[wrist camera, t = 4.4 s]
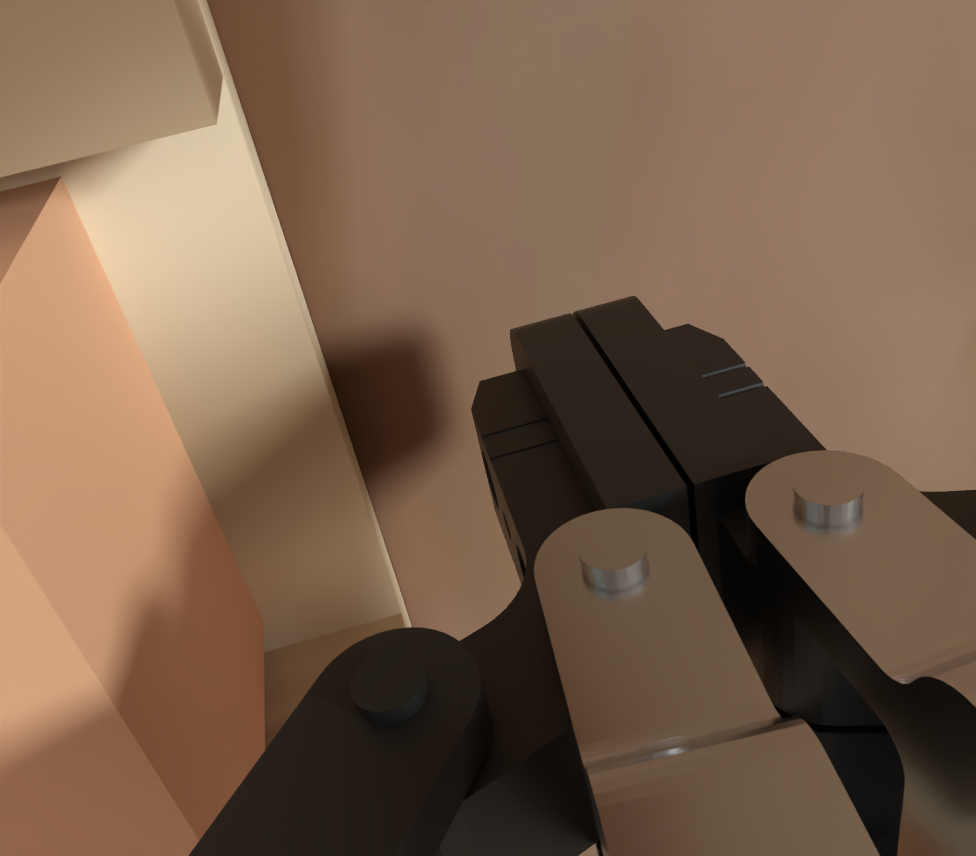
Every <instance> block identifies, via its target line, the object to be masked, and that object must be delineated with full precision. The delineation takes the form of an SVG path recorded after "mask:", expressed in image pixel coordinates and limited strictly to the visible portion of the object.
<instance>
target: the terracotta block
mask: <svg viewBox="0 0 976 856" xmlns="http://www.w3.org/2000/svg"><path fill="white" fill-rule="evenodd" d="M264 751H265V692H264V622H263V620H262V617H261V615H260V613H259V611H258V609H257V606H256V604H255V602H254V600H253V598H252V595H251V593H250V591H249V589H248V586H247V584H246V582H245V580H244V578H243V575H242V573H241V571H240V569H239V567H238V564H237V562H236V560H235V558H234V556H233V553H232V551H231V549H230V547H229V545H228V542H227V540H226V538H225V536H224V534H223V531H222V529H221V527H220V525H219V523H218V520H217V518H216V516H215V514H214V512H213V509H212V507H211V505H210V503H209V501H208V498H207V496H206V494H205V492H204V490H203V487H202V485H201V483H200V481H199V479H198V476H197V474H196V472H195V470H194V468H193V465H192V463H191V461H190V459H189V457H188V454H187V452H186V450H185V448H184V446H183V443H182V441H181V439H180V437H179V435H178V432H177V430H176V428H175V426H174V424H173V421H172V419H171V417H170V415H169V413H168V410H167V408H166V406H165V404H164V401H163V399H162V397H161V395H160V393H159V390H158V388H157V386H156V384H155V382H154V379H153V377H152V375H151V373H150V371H149V368H148V366H147V364H146V362H145V360H144V357H143V355H142V353H141V351H140V349H139V346H138V344H137V342H136V340H135V338H134V335H133V333H132V331H131V329H130V327H129V324H128V322H127V320H126V318H125V316H124V313H123V311H122V309H121V307H120V305H119V302H118V300H117V298H116V296H115V294H114V291H113V289H112V287H111V285H110V283H109V280H108V278H107V276H106V274H105V272H104V269H103V267H102V265H101V263H100V261H99V258H98V256H97V254H96V252H95V250H94V247H93V245H92V243H91V241H90V239H89V236H88V234H87V232H86V230H85V227H84V225H83V223H82V221H81V219H80V216H79V214H78V212H77V210H76V208H75V205H74V203H73V201H72V199H71V197H70V194H69V192H68V190H67V188H66V186H65V183H64V181H63V179H62V177H57V178H53V179H49V180H44V181H40V182H36V183H32V184H28V185H24V186H20V187H16V188H12V189H8V190H4V191H0V856H189V854H190V853H191V851H192V850H193V849H194V847H195V846H196V845H197V843H198V842H199V840H200V839H201V838H202V836H203V835H204V834H205V832H206V831H207V829H208V828H209V827H210V825H211V824H212V823H213V821H214V820H215V818H216V817H217V816H218V814H219V813H220V812H221V810H222V809H223V807H224V806H225V805H226V803H227V802H228V801H229V799H230V798H231V796H232V795H233V794H234V792H235V791H236V790H237V788H238V787H239V785H240V784H241V783H242V781H243V780H244V779H245V777H246V776H247V774H248V773H249V772H250V770H251V769H252V768H253V766H254V765H255V763H256V762H257V761H258V759H259V758H260V757H261V755H262V754H263V752H264Z"/></svg>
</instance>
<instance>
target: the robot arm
mask: <svg viewBox="0 0 976 856" xmlns="http://www.w3.org/2000/svg"><path fill="white" fill-rule="evenodd" d="M510 339H511V346H512V352H513V357H514V362H515V367H516V371H515V372H511V373H508V374H504V375H501V376H497V377H493V378H490V379H486V380H482V381H480V382H479V386H478V389H477V392H476V395H475V398H474V402H473V405H472V408H471V411H472V415H473V419H474V423H475V428H476V432H477V436H478V440H479V445H480V449H481V453H482V457H483V461H484V466H485V470H486V474H487V478H488V483H489V487H490V491H491V495H492V499H493V504H494V508H495V511H496V514H497V517H498V520H499V523H500V525H501V528H502V531H503V534H504V537H505V539H506V541H507V545H508V548H509V551H510V553H511V556H512V559H513V562H514V563H515V567H516V570H517V573H518V576H519V579H520V581H521V584H522V585H521V588H520V590H519V591H518V593H517V595H516V596H515V598H514V599H513V601H512V602H511V603H510V604H509V605H508V607H507V608H506V609H505V610H504V611H503V612H502V613H501V614H499V615H498V616H497V617H496V618H495V619H494V620H492V621H491V622H489V623H488V624H486V625H485V626H484V627H482V628H481V629H479V630H477V631H476V632H474V633H472V634H471V635H469V636H467V637H466V638H464V639H462V640H461V641H458V640H457V639H455V638H453V637H451V636H450V635H448V634H446V633H443V632H440V631H437V630H433V629H427V628H414V627H407V628H399V629H392V630H388V631H384V632H380V633H377V634H375V635H372V636H369V637H367V638H365V639H363V640H361V641H359V642H357V643H355V644H353V645H352V646H350V647H349V648H347V649H346V650H345V651H343V652H342V653H340V654H339V655H338V656H337V657H336V658H335V659H334V660H333V661H332V662H330V663H329V665H328V666H327V667H326V668H325V669H324V670H323V672H322V673H321V674H320V675H319V677H318V678H317V679H316V681H315V682H314V684H313V685H312V686H311V688H310V689H309V690H308V692H307V693H306V695H305V696H304V697H303V699H302V700H301V701H300V703H299V704H298V706H297V707H296V708H295V710H294V711H293V712H292V714H291V715H290V717H289V718H288V719H287V721H286V722H285V724H284V725H283V726H282V728H281V729H280V730H279V732H278V733H277V735H276V736H275V737H274V739H273V740H272V741H271V743H270V744H269V746H268V747H267V748H266V750H265V751H264V752H263V754H262V755H261V757H260V758H259V759H258V761H257V762H256V763H255V765H254V766H253V768H252V769H251V770H250V772H249V773H248V774H247V776H246V777H245V779H244V780H243V781H242V783H241V784H240V785H239V787H238V788H237V790H236V791H235V792H234V794H233V795H232V796H231V798H230V799H229V801H228V802H227V803H226V805H225V806H224V807H223V809H222V810H221V812H220V813H219V814H218V816H217V817H216V818H215V820H214V821H213V823H212V824H211V825H210V827H209V828H208V829H207V831H206V832H205V834H204V835H203V836H202V838H201V839H200V840H199V842H198V843H197V845H196V846H195V847H194V849H193V850H192V851H191V853H190V854H189V856H578V855H580V854H581V853H582V852H584V851H585V850H586V849H588V848H589V847H591V846H592V845H593V844H595V847H596V851H597V855H598V856H976V490H965V491H946V492H922V491H918V490H917V489H916V488H914V487H913V486H912V485H911V484H910V483H909V482H907V481H906V480H905V479H904V478H903V477H902V476H900V475H899V474H898V473H897V472H895V471H894V470H892V469H891V468H890V467H888V466H886V465H884V464H882V463H880V462H878V461H876V460H873V459H871V458H868V457H865V456H862V455H858V454H854V453H848V452H841V451H827V450H826V449H825V448H824V447H823V446H822V445H821V443H820V442H819V441H818V440H817V439H816V438H815V437H814V436H813V435H812V434H811V433H810V432H809V431H808V429H807V428H806V427H805V426H804V425H803V424H802V423H801V422H800V421H799V420H798V419H797V418H796V417H795V415H794V414H793V413H792V412H791V411H790V410H789V409H788V408H787V407H786V406H785V405H784V404H783V403H782V401H781V400H780V399H779V398H778V397H777V396H776V395H775V394H774V393H773V392H772V391H771V390H770V389H769V388H768V386H766V387H764V385H763V381H762V380H761V379H760V378H759V377H758V376H757V375H756V374H755V372H754V371H753V370H752V369H751V368H750V367H746V365H745V362H744V361H743V360H742V358H741V357H740V356H739V355H738V354H737V353H736V352H735V351H734V350H733V349H732V348H731V347H730V346H729V345H728V343H727V342H726V341H725V340H724V339H722V338H720V337H718V336H715V335H713V334H711V333H708V332H706V331H704V330H701V329H699V328H697V327H694V326H692V325H690V324H685V325H682V326H678V327H674V328H671V329H667V330H664V329H663V328H662V327H661V326H660V324H659V323H658V322H657V321H656V320H655V318H654V317H653V316H652V315H651V314H650V312H649V311H648V310H647V309H646V308H645V306H644V305H643V304H642V303H641V302H640V300H639V299H638V298H637V297H635V296H631V297H627V298H623V299H620V300H616V301H612V302H609V303H605V304H601V305H598V306H594V307H590V308H587V309H583V310H579V311H575V312H574V313H573V315H572V314H571V313H569V314H565V315H562V316H558V317H554V318H550V319H547V320H543V321H539V322H536V323H532V324H528V325H525V326H521V327H517V328H514V329H511V330H510Z"/></svg>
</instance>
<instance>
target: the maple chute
mask: <svg viewBox="0 0 976 856" xmlns="http://www.w3.org/2000/svg"><path fill="white" fill-rule="evenodd" d="M57 177H62V179H63V181H64V183H65V186H66V188H67V190H68V192H69V194H70V197H71V199H72V201H73V203H74V205H75V208H76V210H77V212H78V214H79V216H80V219H81V221H82V223H83V225H84V227H85V230H86V232H87V234H88V236H89V239H90V241H91V243H92V245H93V247H94V250H95V252H96V254H97V256H98V258H99V261H100V263H101V265H102V267H103V269H104V272H105V274H106V276H107V278H108V280H109V283H110V285H111V287H112V289H113V291H114V294H115V296H116V298H117V300H118V302H119V305H120V307H121V309H122V311H123V313H124V316H125V318H126V320H127V322H128V324H129V327H130V329H131V331H132V333H133V335H134V338H135V340H136V342H137V344H138V346H139V349H140V351H141V353H142V355H143V357H144V360H145V362H146V364H147V366H148V368H149V371H150V373H151V375H152V377H153V379H154V382H155V384H156V386H157V388H158V390H159V393H160V395H161V397H162V399H163V401H164V404H165V406H166V408H167V410H168V413H169V415H170V417H171V419H172V421H173V424H174V426H175V428H176V430H177V432H178V435H179V437H180V439H181V441H182V443H183V446H184V448H185V450H186V452H187V454H188V457H189V459H190V461H191V463H192V465H193V468H194V470H195V472H196V474H197V476H198V479H199V481H200V483H201V485H202V487H203V490H204V492H205V494H206V496H207V498H208V501H209V503H210V505H211V507H212V509H213V512H214V514H215V516H216V518H217V520H218V523H219V525H220V527H221V529H222V531H223V534H224V536H225V538H226V540H227V542H228V545H229V547H230V549H231V551H232V553H233V556H234V558H235V560H236V562H237V564H238V567H239V569H240V571H241V573H242V575H243V578H244V580H245V582H246V584H247V586H248V589H249V591H250V593H251V595H252V598H253V600H254V602H255V604H256V606H257V609H258V611H259V613H260V615H261V617H262V620H263V622H264V692H265V750H266V748H267V747H268V746H269V744H270V743H271V741H272V740H273V739H274V737H275V736H276V735H277V733H278V732H279V730H280V729H281V728H282V726H283V725H284V724H285V722H286V721H287V719H288V718H289V717H290V715H291V714H292V712H293V711H294V710H295V708H296V707H297V706H298V704H299V703H300V701H301V700H302V699H303V697H304V696H305V695H306V693H307V692H308V690H309V689H310V688H311V686H312V685H313V684H314V682H315V681H316V679H317V678H318V677H319V675H320V674H321V673H322V672H323V670H324V669H325V668H326V667H327V666H328V665H329V663H330V662H332V661H333V660H334V659H335V658H336V657H337V656H338V655H339V654H340V653H342V652H343V651H345V650H346V649H347V648H349V647H350V646H352V645H353V644H355V643H357V642H359V641H361V640H363V639H365V638H367V637H369V636H372V635H375V634H377V633H380V632H384V631H388V630H392V629H399V628H407V627H412V626H411V623H410V620H409V617H408V614H407V611H406V608H405V605H404V602H403V598H402V595H401V592H400V589H399V586H398V583H397V580H396V577H395V574H394V571H393V568H392V565H391V562H390V559H389V556H388V553H387V550H386V547H385V544H384V540H383V537H382V534H381V531H380V528H379V525H378V522H377V519H376V516H375V513H374V510H373V507H372V504H371V501H370V498H369V495H368V492H367V489H366V485H365V482H364V479H363V476H362V473H361V470H360V467H359V464H358V461H357V458H356V455H355V452H354V449H353V446H352V443H351V440H350V437H349V434H348V431H347V427H346V424H345V421H344V418H343V415H342V412H341V409H340V406H339V403H338V400H337V397H336V394H335V391H334V388H333V385H332V382H331V379H330V376H329V373H328V369H327V366H326V363H325V360H324V357H323V354H322V351H321V348H320V345H319V342H318V339H317V336H316V333H315V330H314V327H313V324H312V321H311V318H310V314H309V311H308V308H307V305H306V302H305V299H304V296H303V293H302V290H301V287H300V284H299V281H298V278H297V275H296V272H295V269H294V266H293V263H292V260H291V256H290V253H289V250H288V247H287V244H286V241H285V238H284V235H283V232H282V229H281V226H280V223H279V220H278V217H277V214H276V211H275V208H274V205H273V202H272V198H271V195H270V192H269V189H268V186H267V183H266V180H265V177H264V174H263V171H262V168H261V165H260V162H259V159H258V156H257V153H256V150H255V147H254V143H253V140H252V137H251V134H250V131H249V128H248V125H247V122H246V119H245V116H244V113H243V110H242V107H241V104H240V101H239V98H238V95H237V92H236V89H235V85H234V82H233V79H232V76H231V73H230V70H229V67H228V64H227V61H226V58H225V55H224V52H223V49H222V46H221V43H220V40H219V37H218V34H217V31H216V27H215V24H214V21H213V18H212V15H211V12H210V9H209V6H208V3H207V0H0V191H4V190H8V189H12V188H16V187H20V186H24V185H28V184H32V183H36V182H40V181H44V180H49V179H53V178H57Z"/></svg>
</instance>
